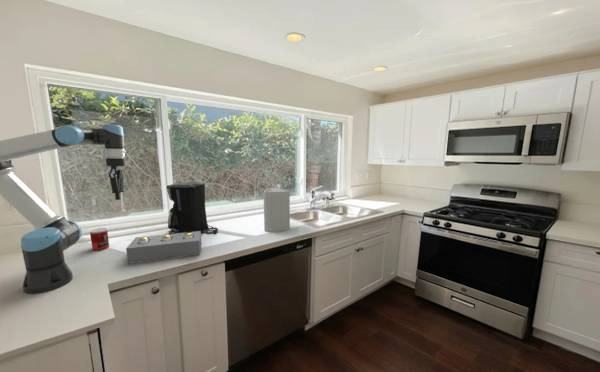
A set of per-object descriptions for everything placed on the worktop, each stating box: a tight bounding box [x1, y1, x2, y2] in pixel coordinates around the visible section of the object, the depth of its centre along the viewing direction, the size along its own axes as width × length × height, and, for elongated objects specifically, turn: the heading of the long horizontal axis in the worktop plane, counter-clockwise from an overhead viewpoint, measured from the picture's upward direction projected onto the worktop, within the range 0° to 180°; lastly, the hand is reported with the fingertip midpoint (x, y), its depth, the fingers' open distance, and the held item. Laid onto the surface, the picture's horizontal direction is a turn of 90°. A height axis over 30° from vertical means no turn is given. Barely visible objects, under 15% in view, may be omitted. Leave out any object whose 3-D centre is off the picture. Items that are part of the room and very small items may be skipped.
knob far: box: [184, 232, 193, 239], centre depth 141 cm, size 4×4×8 cm
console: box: [125, 231, 202, 264], centre depth 138 cm, size 16×34×8 cm, turn 108°
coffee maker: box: [166, 181, 219, 235], centre depth 172 cm, size 23×32×34 cm
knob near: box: [139, 235, 149, 243], centre depth 134 cm, size 4×4×8 cm
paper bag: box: [263, 187, 291, 233], centre depth 176 cm, size 19×15×28 cm
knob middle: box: [162, 233, 172, 241], centre depth 138 cm, size 4×4×8 cm
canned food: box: [89, 227, 110, 252], centre depth 144 cm, size 8×8×11 cm
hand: (119, 205), depth 123 cm, fingers closed
